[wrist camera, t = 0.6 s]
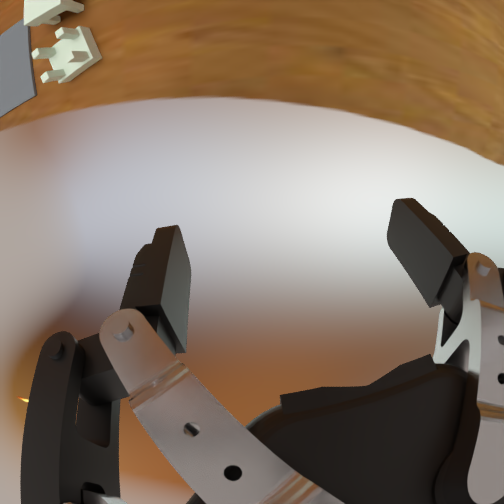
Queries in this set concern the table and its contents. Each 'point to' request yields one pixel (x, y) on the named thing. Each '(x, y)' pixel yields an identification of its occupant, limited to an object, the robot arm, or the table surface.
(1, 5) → the table surface
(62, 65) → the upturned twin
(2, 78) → the mat
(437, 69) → the table surface
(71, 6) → the cube with twin tabs
